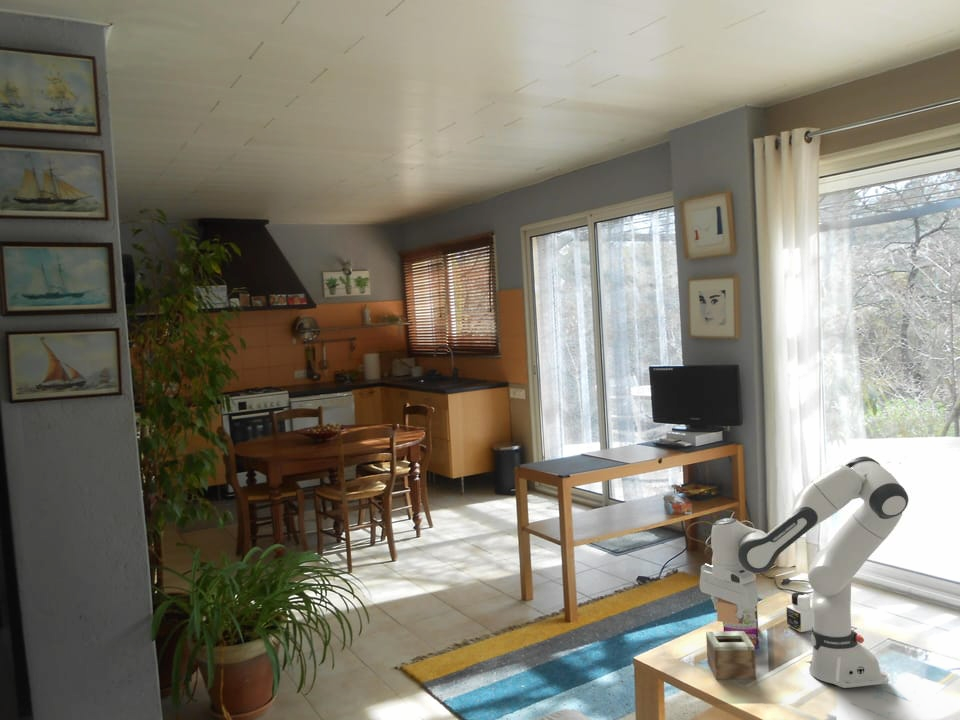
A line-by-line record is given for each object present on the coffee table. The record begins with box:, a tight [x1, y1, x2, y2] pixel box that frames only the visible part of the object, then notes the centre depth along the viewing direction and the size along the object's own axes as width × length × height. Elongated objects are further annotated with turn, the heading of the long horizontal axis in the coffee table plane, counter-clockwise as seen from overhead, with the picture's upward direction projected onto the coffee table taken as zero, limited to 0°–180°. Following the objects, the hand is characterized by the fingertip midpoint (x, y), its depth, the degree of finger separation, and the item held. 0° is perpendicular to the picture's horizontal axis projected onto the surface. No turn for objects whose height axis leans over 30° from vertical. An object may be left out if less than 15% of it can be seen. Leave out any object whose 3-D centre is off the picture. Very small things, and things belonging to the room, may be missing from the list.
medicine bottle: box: [785, 591, 813, 633], centre depth 264 cm, size 7×7×12 cm
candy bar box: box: [722, 599, 760, 649], centre depth 253 cm, size 11×5×16 cm, turn 71°
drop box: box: [705, 630, 757, 680], centre depth 235 cm, size 12×12×10 cm
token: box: [716, 598, 739, 624], centre depth 234 cm, size 6×3×6 cm, turn 58°
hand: (728, 613), depth 234 cm, fingers closed on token, 7 cm apart
